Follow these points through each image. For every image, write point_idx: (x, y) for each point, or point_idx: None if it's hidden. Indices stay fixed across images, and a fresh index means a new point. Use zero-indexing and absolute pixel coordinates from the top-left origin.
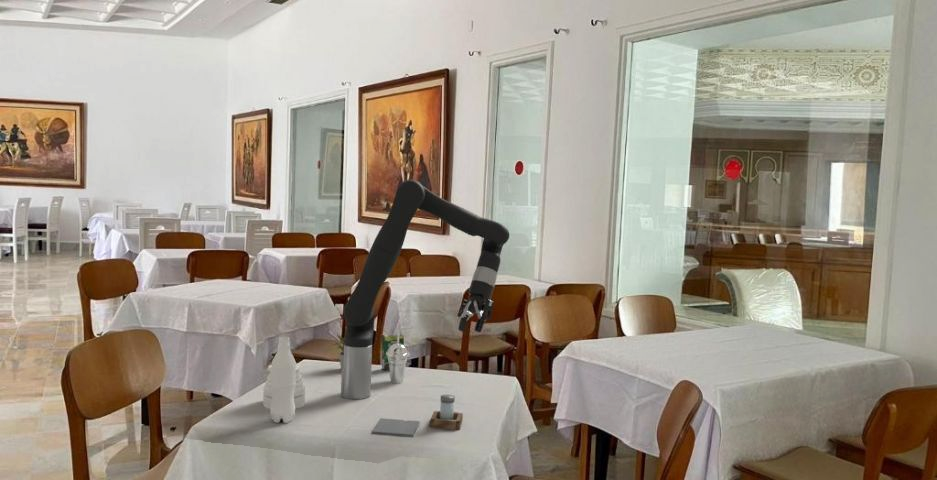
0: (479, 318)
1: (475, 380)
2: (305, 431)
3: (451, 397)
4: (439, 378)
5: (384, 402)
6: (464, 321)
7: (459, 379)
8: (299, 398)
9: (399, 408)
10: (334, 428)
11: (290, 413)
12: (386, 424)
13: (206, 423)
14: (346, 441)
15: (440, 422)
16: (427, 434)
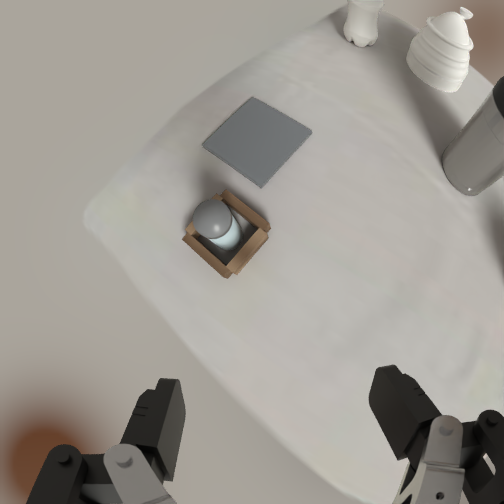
0: (119, 444)
1: None
2: (304, 43)
3: (199, 222)
4: (496, 389)
5: (415, 192)
6: (401, 432)
7: None
8: (418, 64)
9: (369, 198)
10: (301, 68)
11: (345, 31)
12: (273, 126)
13: None
14: (240, 67)
15: None
16: (198, 173)
